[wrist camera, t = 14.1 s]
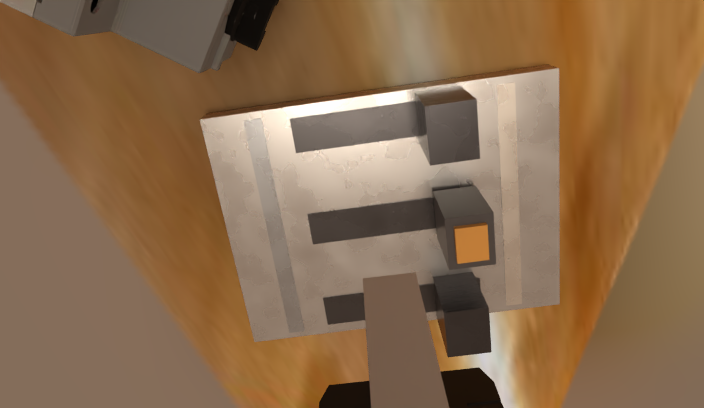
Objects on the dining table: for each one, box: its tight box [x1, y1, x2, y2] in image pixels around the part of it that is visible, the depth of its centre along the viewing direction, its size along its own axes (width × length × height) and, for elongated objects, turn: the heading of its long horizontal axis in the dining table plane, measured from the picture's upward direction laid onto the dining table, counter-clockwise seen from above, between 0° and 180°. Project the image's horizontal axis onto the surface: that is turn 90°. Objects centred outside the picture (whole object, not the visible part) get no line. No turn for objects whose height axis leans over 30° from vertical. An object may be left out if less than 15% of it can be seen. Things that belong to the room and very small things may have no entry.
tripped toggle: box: [433, 186, 496, 270], centre depth 36 cm, size 4×3×5 cm
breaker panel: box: [200, 64, 560, 357], centre depth 37 cm, size 18×24×7 cm
